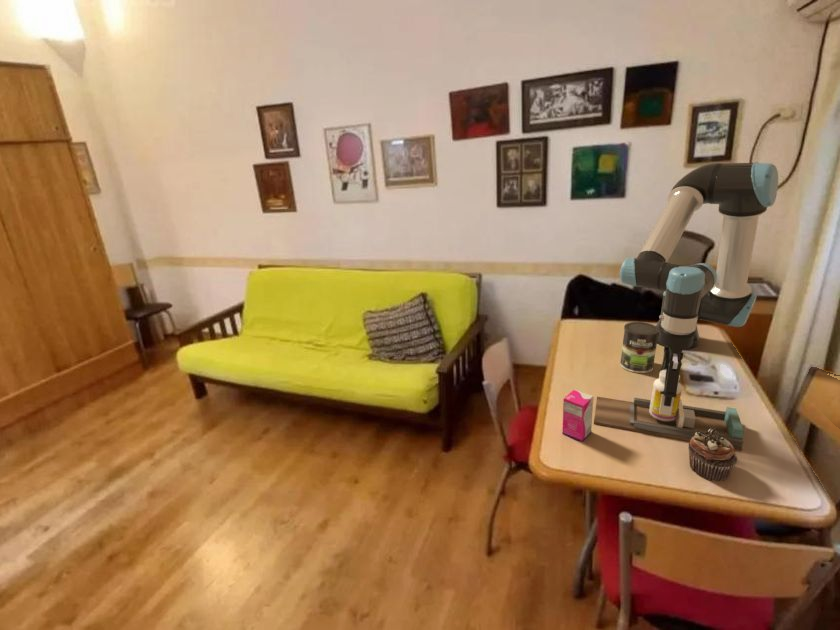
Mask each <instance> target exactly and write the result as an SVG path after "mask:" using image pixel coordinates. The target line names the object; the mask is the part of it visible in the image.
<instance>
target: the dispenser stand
mask: <svg viewBox="0 0 840 630" xmlns="http://www.w3.org/2000/svg"><path fill="white" fill-rule="evenodd" d="M650 402H651V399H646V398H639V397H634V399H633V401H628V400H627V401H626V400H620V399H616V398H608V397H604V396H602V397H601V396H596V402H595V411H594V419H593V425H597V426H604V427H609V428H615V429H619V430H626V431H631V432H636V433H642V434H648V435H652V436H657V437H664V438H669V439H675V440H681V441H685V442H686V441H687V442H690V440H691V438H692V437H693V436H695V433H696V432H697V431H700V432H703V433H705V431H708V430H709V429H712V428H714V429H716V430H715V431H716V432H717V433H718V434H720V435H722V436H723V437H724V438H725V439H726V440H727V441H729V442H730V443H731V444H732V445H733V447H734V448H735V451H739V452H740V451H742V449H743V443H744V439H743V438H744V433H745V430H744V427H743V424H742V422H741V421H742V420H741V418H740V416H739V413H738V410H737V408H735V407H726V409H725V410H726V411H722V410H718V409H710V408H705V407H698V406H697V407H696V406H691V405H684V404H682V406H683V409H688V410H694V413H695V418H696V420H695V425H694V428H689V427H682V428H679V427H677V426H676V419H675V420H673V421H661V420H658V419H656V418H654V417H653V416H652V415H651V414H650V412H649V408H650ZM717 436H719V435H717Z"/></svg>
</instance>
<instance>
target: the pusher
mask: <svg viewBox="0 0 840 630" xmlns="http://www.w3.org/2000/svg"><path fill="white" fill-rule="evenodd" d="M682 405H683V401H682V397H680V402H679V407H678V412H677V417H676V426H677V427H679V428H682V427H689V428H694V425H695V420H696V418H695V413H694V410H688V409H683V406H682Z"/></svg>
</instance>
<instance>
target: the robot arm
mask: <svg viewBox="0 0 840 630" xmlns="http://www.w3.org/2000/svg"><path fill="white" fill-rule="evenodd" d="M778 171H779V170H778V169H777V167H776V165H775V164H773V163H768V162H767V163H766V162H728V163H723V162H722V163H720V162H714V163H713V162H712V163H709V164H705V165H701V166H698V167H697V168H694V169H693V170H691V171H690V172H688V173H687V174H686V175H684V176H683V177H682V178H681V179H679V180H678V181H677V182H676V183H675V184H674V186H673V187H672V189H671V190H670V192H669V194H668V195H667V201H668V202H667V205H666V206H665V207H664V210H663V211H662V213H661V215H660V216H659V218H658V220H657V222H656V223H655V225H654V227H653V228H652V230H651V232H650V234H649V236H648V237H647V239H646V241H645V243H644V244H643V246H642V248H641V250H640V251H639V253H638V256H636V257H627V258H626V259H625V260H623V262H622V264H621V266H620V270H619V278H620V281H621V282H622V283H623V284H625V285H629V286H632V287H635V288H637V287H639V288H644V289H645V288H646V289H652V290H655V291H657V290H658V291H661V292H663V294H662V295H663V296H662V303H661V308H660V309H661V311H660V315H659V316H658V317H659V320H658V321H657V323H656V325H655V326H656V327H658V328H659V334H658V340H657V344H658V345H660V346H662V347H664V348H663V360H662V363H661V367H660V371H662V370H666V376H665V384H664V391H660V394H662V398H661V404H660V410H659V414H662V415H668V416H671V413H672V407H673V401H674V397H676V395H677V394H676V392H677V386H678V382H679V381H680V379H679V375H680V373H681V372H680V371H681V368H682V366H683V363H682V360H683V357H684V353H683V350H690V349H693V348H697V347H698V345H699V342H700V333H699V330H698V320H700V321H706V322H709V323H711V322H712V323H716V324H722V325H725V326H728V327H729V326H731V327H736V328H740V327H744V326H745V324H746V323H747V320H748V319H749V316H750V315H751V312H752V311H753V307H754V305H755V303H756V301H757V297H758V295H757V294H756V293H753V292H752V289H753V288H752V286H751V285H750V284H749V283H748V279H749V273H750V267H751V262H752V257H753V256H752V255H753V252H754V251H753V250H754V246H755V241H756V234H757V231H758V230H757V229H758V225H759V224H758V223H759V219H760V218H759V217H760V216H761V215H763V214H765V213H766V212H767V211H768V208H769V207H772V206H774V204H775V202H776V200H777V195H778V194H777V193H778V189H779V172H778ZM704 204H705V205H707V204H710V205H718V214H720V215H722V217H723V218H722V225H721V235H720V242H719V248H718V249H719V250H718V257H717V263H716V269H715V268H714V267H713V266H711V265H709V264H708V263H704V262H700V263H695V264H692V265H688V264H679V263H673V262H672V263H671V262H668V261H669V260H670V257H671V256H672V254H673V252H674V250H675V249H676V246H677V245H678V243H679V241H680V239H681V237H682V235H683V233H684V232H685V229H686V228H687V226H688V224H689V223H690V220H691V219H692V217H693V216H694V213H695V212H696V211H698V210H699V209H701V207H702V206H703V205H704ZM678 380H679V381H678Z"/></svg>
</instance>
